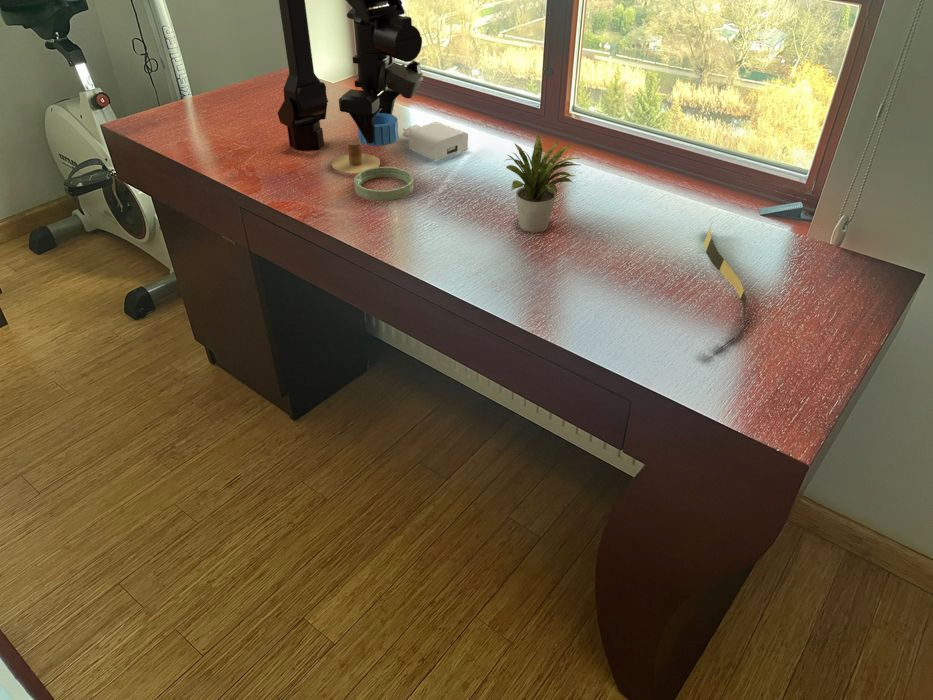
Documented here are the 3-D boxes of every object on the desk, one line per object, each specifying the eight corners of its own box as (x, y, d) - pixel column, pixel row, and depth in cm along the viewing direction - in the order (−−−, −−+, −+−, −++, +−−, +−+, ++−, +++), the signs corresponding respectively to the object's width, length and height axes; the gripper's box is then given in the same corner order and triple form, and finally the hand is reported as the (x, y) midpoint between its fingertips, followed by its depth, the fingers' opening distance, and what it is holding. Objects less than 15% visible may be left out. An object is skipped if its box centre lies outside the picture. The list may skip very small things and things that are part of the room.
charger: (421, 133, 169) (467, 152, 161) (390, 144, 164) (436, 164, 156) (421, 112, 167) (468, 131, 158) (389, 123, 161) (436, 142, 153)
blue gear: (352, 143, 138) (350, 124, 136) (368, 129, 144) (367, 111, 142) (389, 148, 136) (388, 129, 134) (404, 133, 142) (403, 115, 140)
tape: (737, 240, 132) (743, 221, 129) (747, 369, 102) (755, 347, 100) (702, 235, 133) (708, 215, 130) (702, 361, 103) (709, 339, 101)
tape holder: (323, 172, 152) (321, 148, 149) (344, 154, 159) (342, 130, 156) (369, 179, 150) (367, 154, 146) (387, 160, 157) (386, 136, 154)
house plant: (537, 256, 126) (544, 165, 116) (476, 229, 133) (478, 141, 123) (586, 227, 134) (597, 140, 124) (526, 203, 142) (532, 119, 132)
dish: (345, 199, 142) (344, 186, 141) (369, 175, 151) (368, 163, 149) (401, 207, 140) (400, 195, 138) (421, 183, 148) (421, 170, 147)
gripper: (395, 68, 121) (400, 159, 131) (433, 39, 136) (435, 123, 145) (333, 62, 124) (342, 152, 133) (377, 34, 138) (382, 117, 148)
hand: (378, 135), depth 140 cm, fingers closed on blue gear, 7 cm apart
